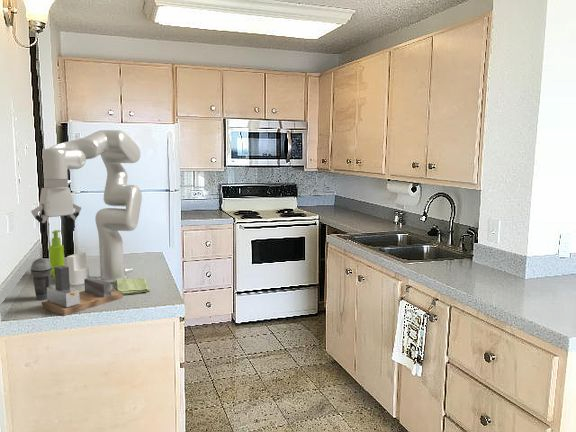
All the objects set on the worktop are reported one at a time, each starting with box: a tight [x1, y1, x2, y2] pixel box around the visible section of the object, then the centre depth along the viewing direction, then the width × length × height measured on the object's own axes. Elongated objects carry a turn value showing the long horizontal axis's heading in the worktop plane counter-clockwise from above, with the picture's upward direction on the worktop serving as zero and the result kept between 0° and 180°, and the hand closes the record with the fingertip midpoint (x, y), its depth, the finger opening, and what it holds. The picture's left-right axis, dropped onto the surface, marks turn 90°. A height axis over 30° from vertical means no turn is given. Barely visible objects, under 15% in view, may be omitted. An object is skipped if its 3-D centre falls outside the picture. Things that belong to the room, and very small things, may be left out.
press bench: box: [41, 277, 124, 316], centre depth 178 cm, size 24×14×7 cm, turn 146°
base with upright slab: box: [66, 251, 90, 286], centre depth 205 cm, size 9×9×12 cm
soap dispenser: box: [48, 229, 66, 277], centre depth 216 cm, size 6×7×20 cm
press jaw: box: [46, 265, 80, 307], centre depth 171 cm, size 5×13×13 cm, turn 56°
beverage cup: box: [30, 247, 52, 301], centre depth 182 cm, size 7×7×20 cm
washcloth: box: [113, 277, 151, 296], centre depth 197 cm, size 13×18×3 cm
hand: (58, 232), depth 169 cm, fingers open, 9 cm apart
